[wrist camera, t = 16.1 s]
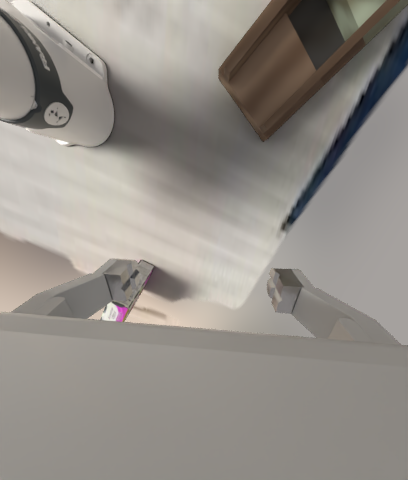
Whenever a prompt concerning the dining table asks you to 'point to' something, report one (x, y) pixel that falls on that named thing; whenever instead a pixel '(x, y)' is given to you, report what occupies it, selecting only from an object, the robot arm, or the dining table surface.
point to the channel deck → (298, 54)
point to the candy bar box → (123, 308)
